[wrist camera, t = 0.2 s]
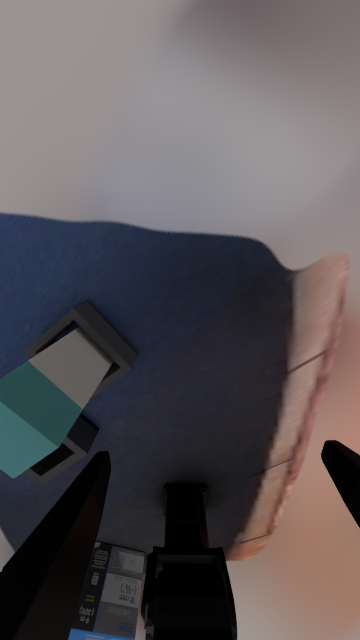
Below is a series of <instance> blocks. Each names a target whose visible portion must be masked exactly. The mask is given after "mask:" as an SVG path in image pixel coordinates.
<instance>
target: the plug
mask: <svg viewBox="0 0 360 640" xmlns="http://www.w3.org/2000/svg"><path fill="white" fill-rule="evenodd" d="M113 362H114V360H113V359H112V358H111V357H110V356H109V355H108V354H107V353H106V352H105V351H104V350H103V349H102V348H101V347H100V346H99V345H98V344H97V343H96V342H95V341H94V340H93V339H92V338H91V337H90V336H89V335H88V334H87V333H86V332H85V331H84V330H83V329H82V328H81V327H80V326H79V327H78V328H76V329H75V330H73V331H72V332H70V333H69V334H67V335H66V336H64V337H63V338H61V339H60V340H58V341H57V342H55V343H54V344H52V345H51V346H49V347H48V348H46V349H45V350H43V351H42V352H40V353H39V354H37V355H36V356H34V357H33V358H31V359H30V360H28V361H27V362H25V363H24V364H22V365H21V366H19V367H18V368H16V369H15V370H13V371H12V372H10V373H9V374H7V375H6V376H4V377H3V378H1V379H0V469H1V470H2V471H3V472H5V473H6V474H8V475H9V476H11V477H12V478H16V477H17V476H18V475H20V474H21V473H23V472H24V471H26V470H27V469H28V468H30V467H31V466H33V465H34V464H36V463H37V462H39V461H40V460H41V459H43V458H44V457H46V456H47V455H49V454H50V453H51V452H53V451H54V450H56V449H57V448H59V446H60V445H61V443H62V441H63V440H64V438H65V437H66V435H67V434H68V432H69V431H70V429H71V427H72V426H73V424H74V423H75V421H76V420H77V418H78V416H79V415H80V413H81V412H82V410H83V409H84V407H85V405H86V404H87V402H88V401H89V399H90V398H91V396H92V395H93V393H94V391H95V390H96V388H97V387H98V385H99V384H100V382H101V380H102V379H103V377H104V376H105V374H106V373H107V371H108V369H109V368H110V366H111V365H112V363H113Z"/></svg>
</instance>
